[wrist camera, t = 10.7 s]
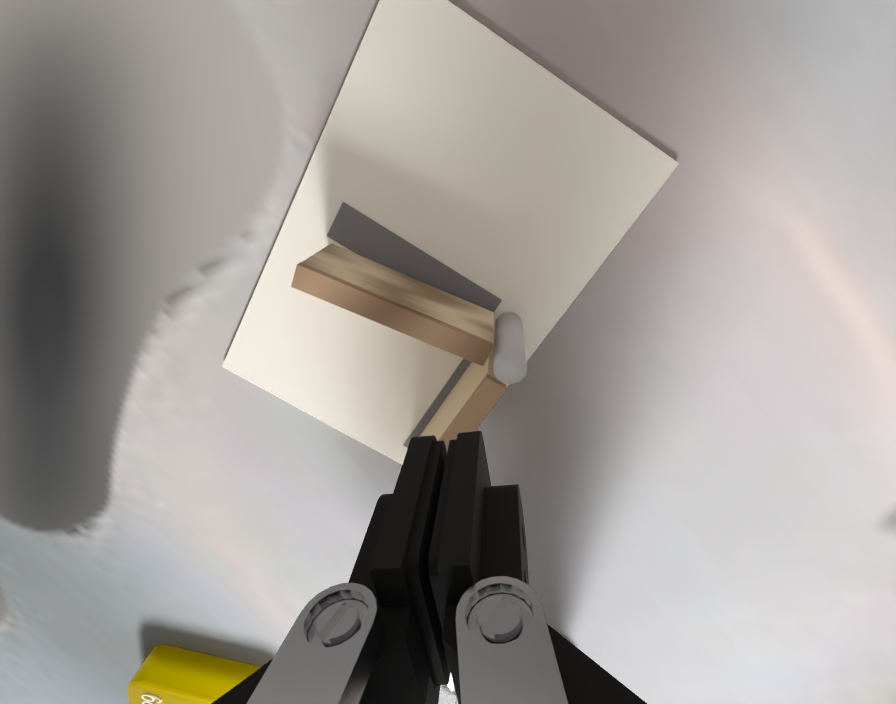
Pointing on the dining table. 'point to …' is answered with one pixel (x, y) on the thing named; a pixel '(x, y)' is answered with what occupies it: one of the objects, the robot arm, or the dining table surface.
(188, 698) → the element tile
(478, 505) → the robot arm
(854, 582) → the dining table surface
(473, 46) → the card
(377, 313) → the fence panel
